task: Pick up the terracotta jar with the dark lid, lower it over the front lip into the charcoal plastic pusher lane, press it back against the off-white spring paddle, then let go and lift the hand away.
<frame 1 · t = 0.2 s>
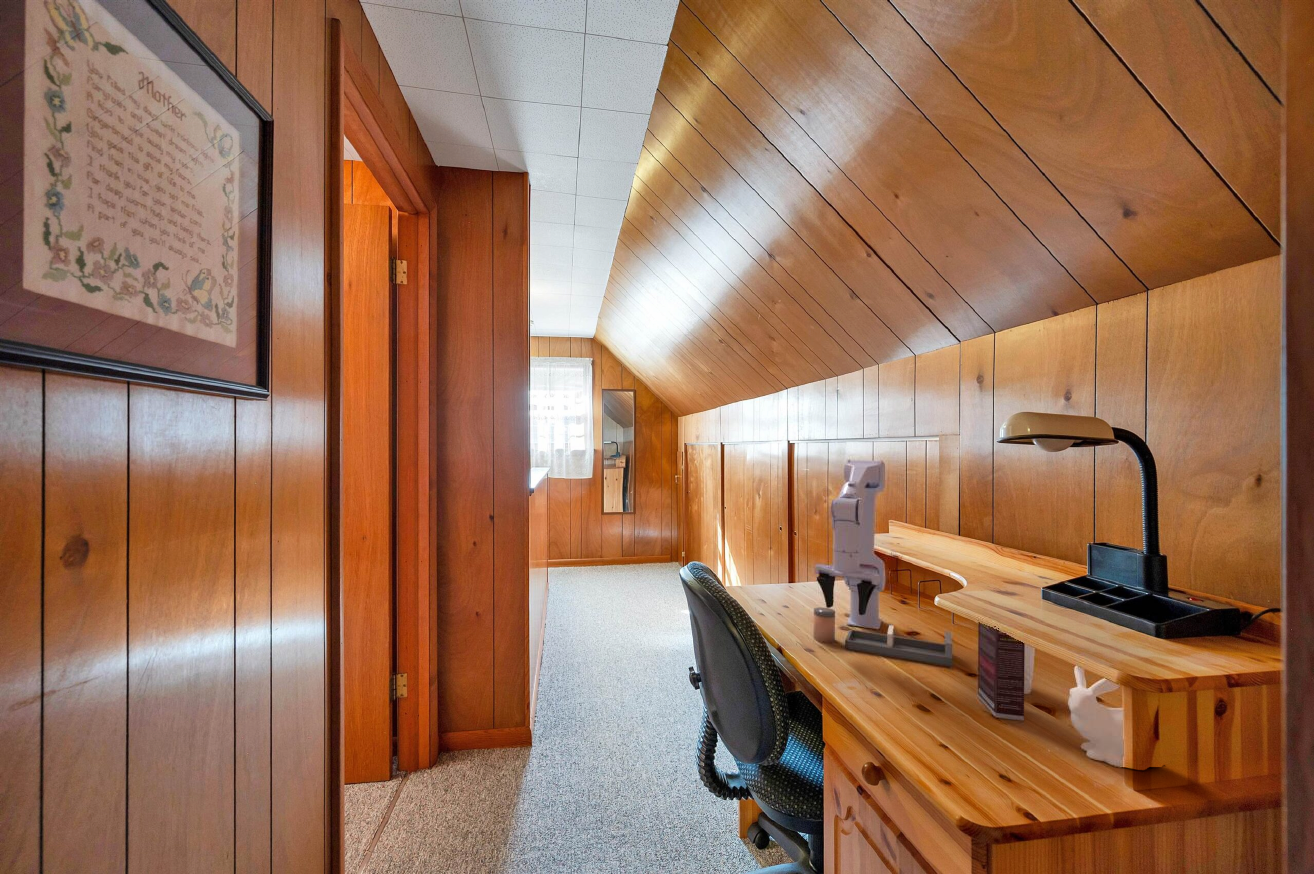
hand: (845, 610, 124), 10 cm above the table, tool pointing down, fingers open, 7 cm apart
jar: (824, 639, 133), on the table
rabbit: (1107, 757, 83), on the table
supplement box: (1000, 709, 98), on the table
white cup: (1010, 688, 107), on the table
spring paddle: (890, 638, 126), point 3 cm above the table, slide at 0.0 cm
pusher lane: (897, 651, 126), on the table
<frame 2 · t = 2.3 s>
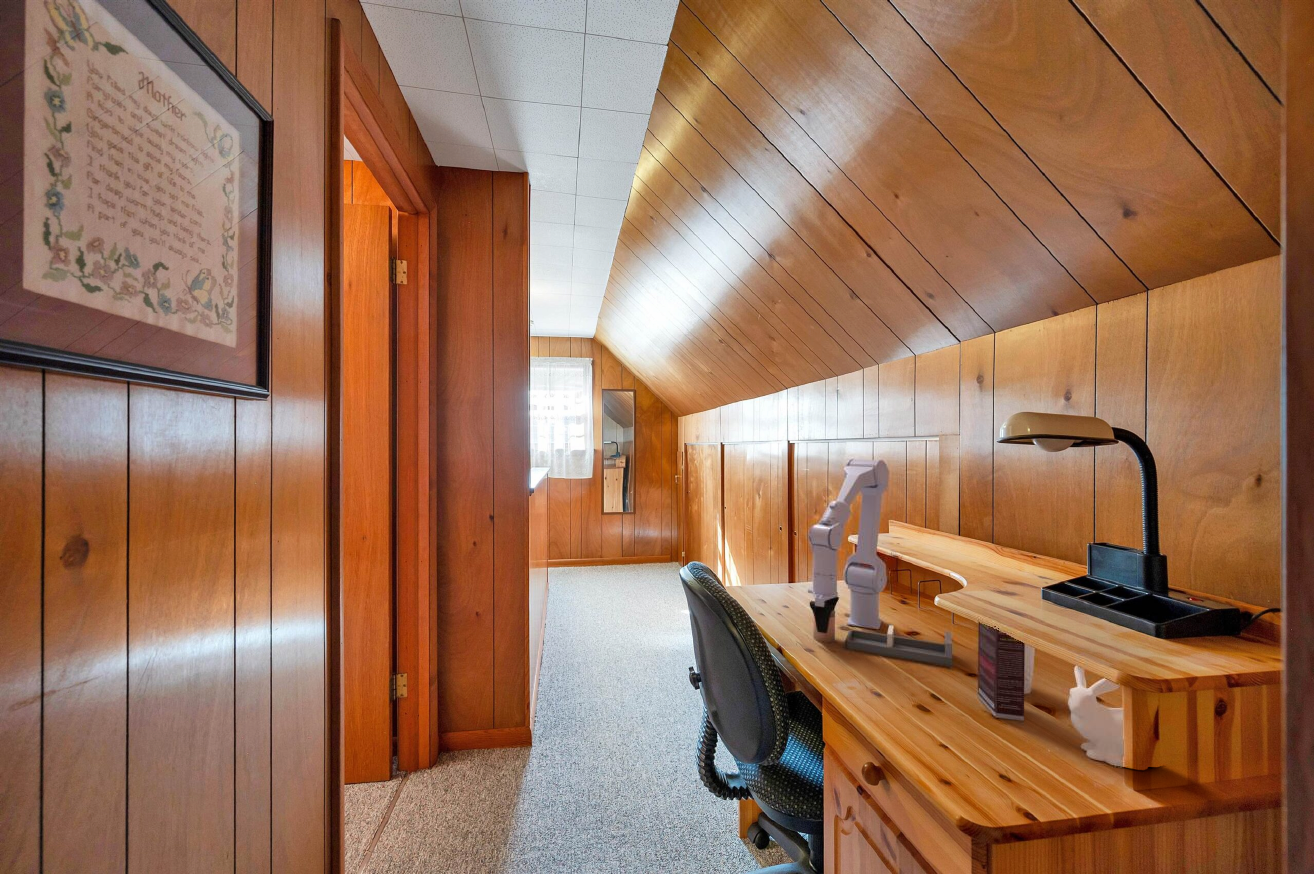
hand: (824, 629, 133), 2 cm above the table, tool pointing down, fingers closed on jar, 5 cm apart
jar: (824, 638, 133), on the table, touching gripper
everything else where it was.
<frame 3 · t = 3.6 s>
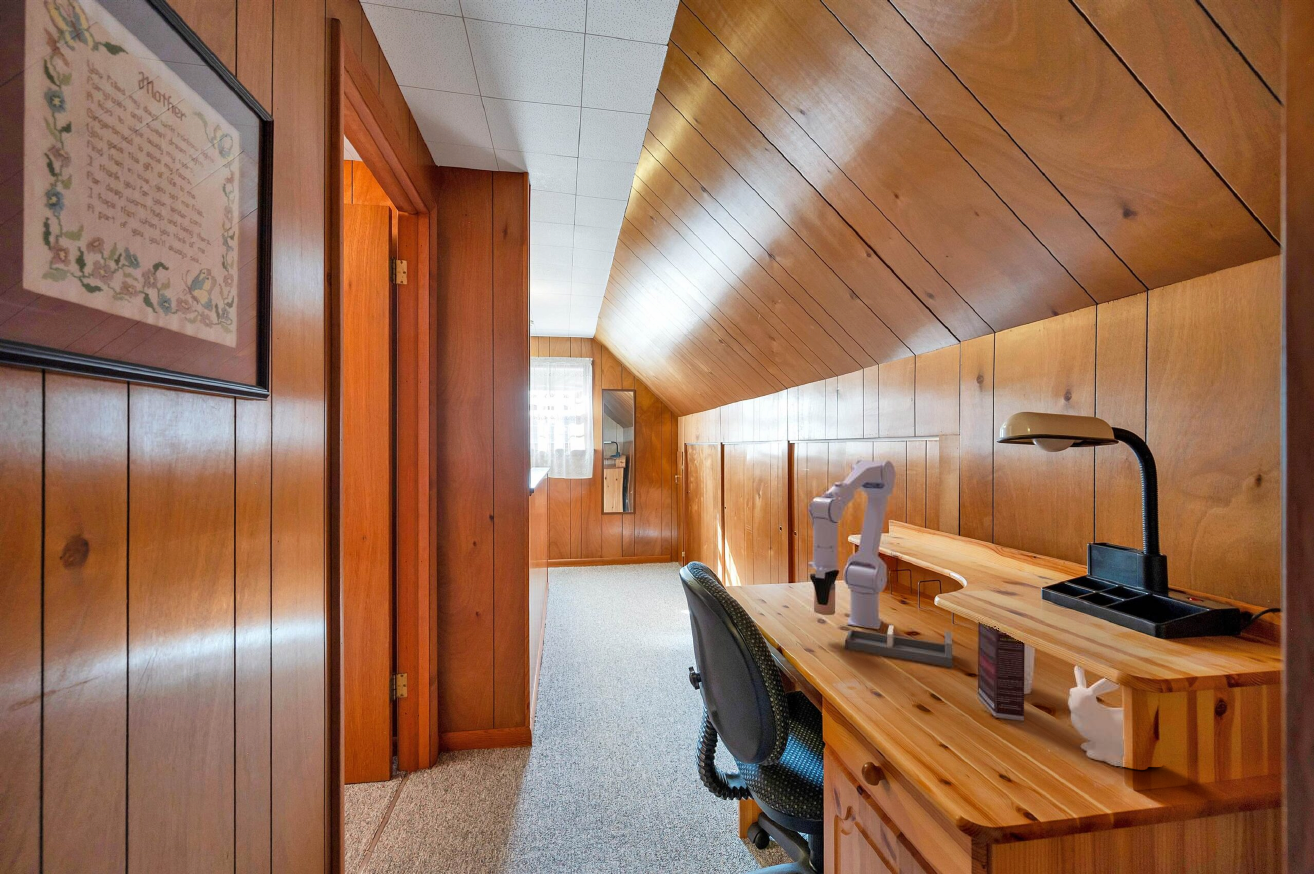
hand: (824, 601, 133), 9 cm above the table, tool pointing down, fingers closed on jar, 5 cm apart
jar: (824, 611, 133), point 7 cm above the table, touching gripper
everything else where it was.
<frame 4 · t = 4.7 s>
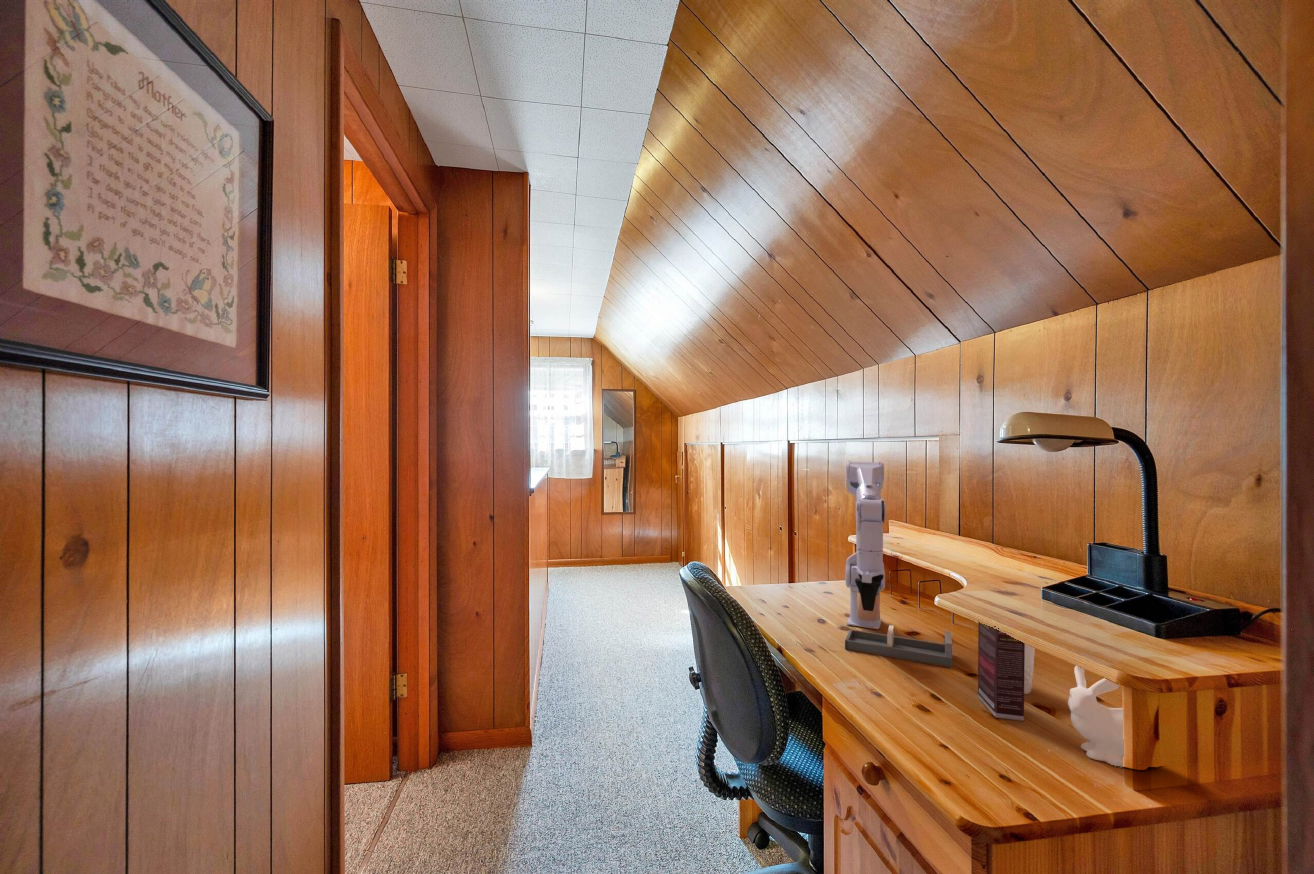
hand: (869, 607, 129), 9 cm above the table, tool pointing down, fingers closed on jar, 5 cm apart
jar: (868, 617, 129), point 7 cm above the table, touching gripper
everything else where it was.
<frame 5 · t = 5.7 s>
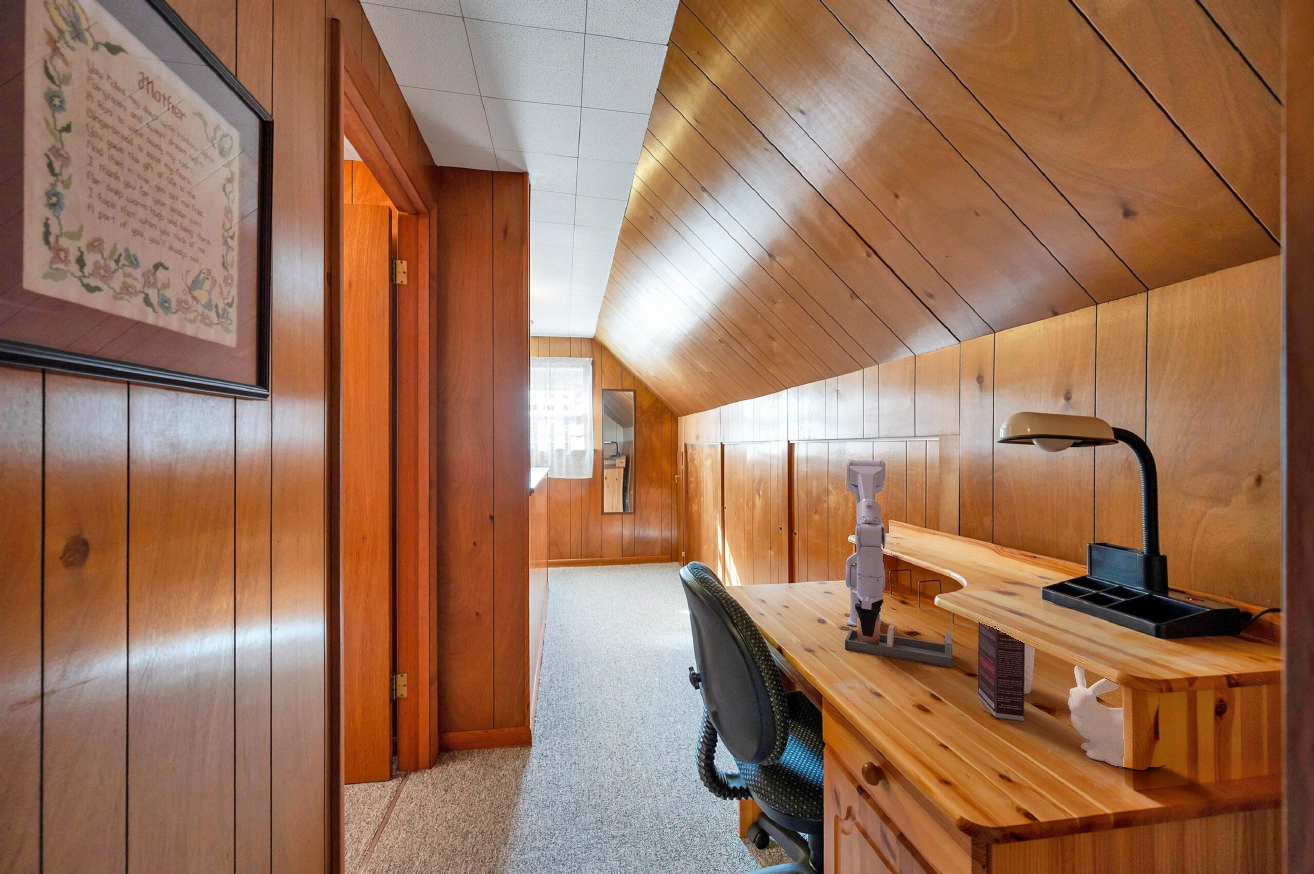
hand: (869, 632, 129), 3 cm above the table, tool pointing down, fingers closed on jar, 5 cm apart
jar: (868, 643, 129), point 1 cm above the table, touching gripper
everything else where it was.
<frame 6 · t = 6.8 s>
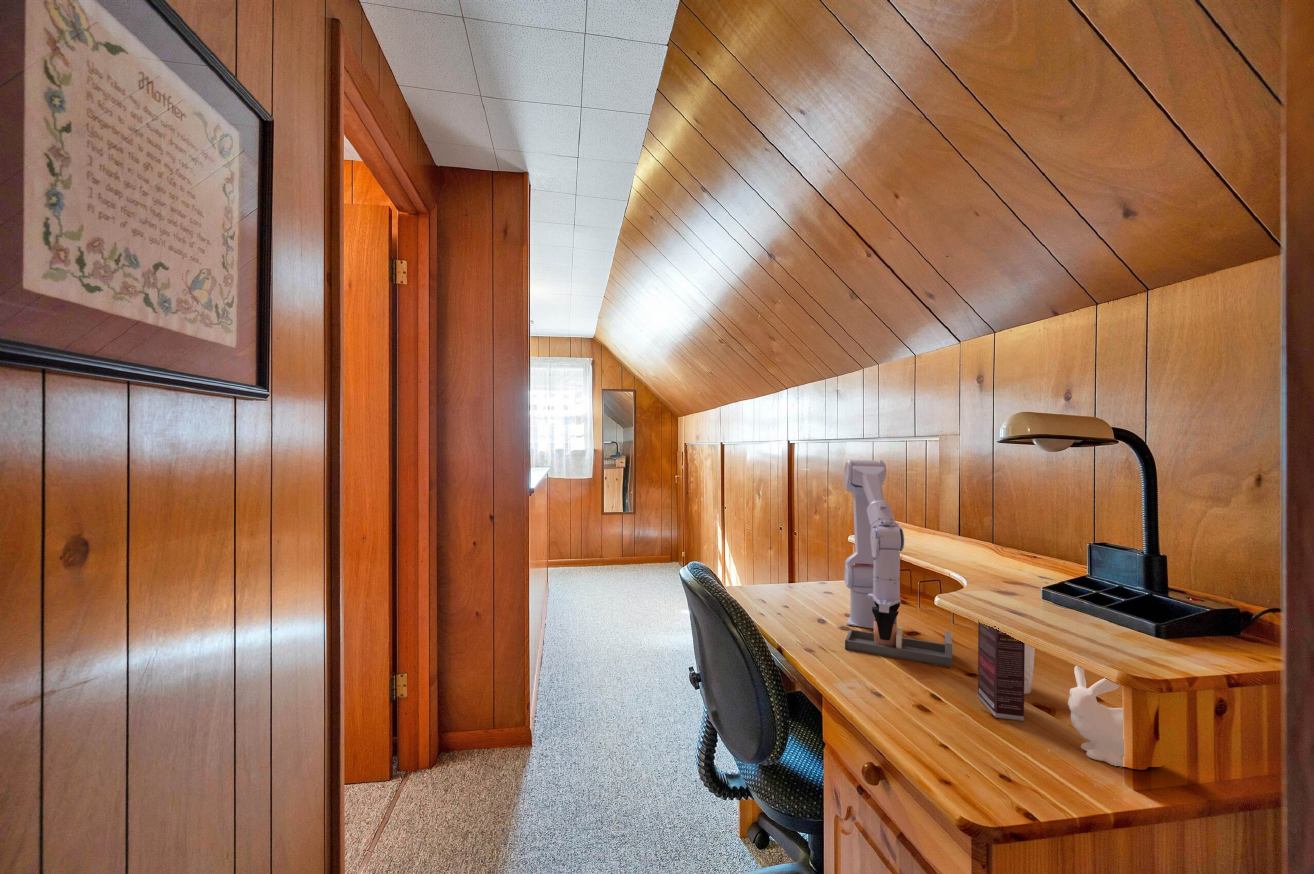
hand: (885, 635, 127), 3 cm above the table, tool pointing down, fingers closed on jar, 5 cm apart
jar: (885, 646, 127), point 1 cm above the table, touching gripper
spring paddle: (899, 639, 126), point 3 cm above the table, slide at 1.9 cm
everything else where it was.
when the fingers open (3 cm above the table, at t = 7.2 s): jar stays where it is, resting on pusher lane.
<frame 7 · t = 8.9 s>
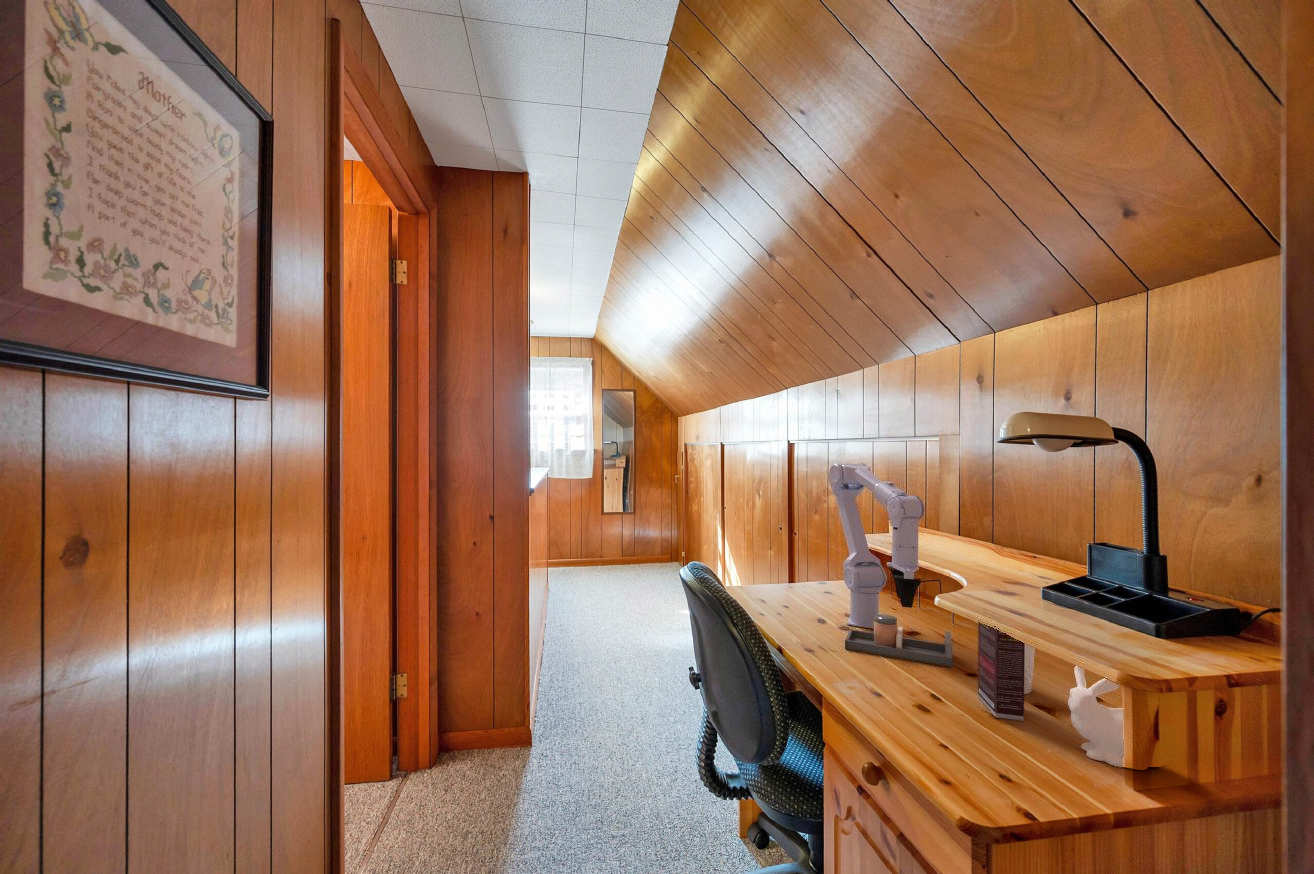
hand: (904, 602, 130), 10 cm above the table, tool pointing down, fingers open, 7 cm apart
jar: (885, 647, 127), resting on pusher lane
everything else where it was.
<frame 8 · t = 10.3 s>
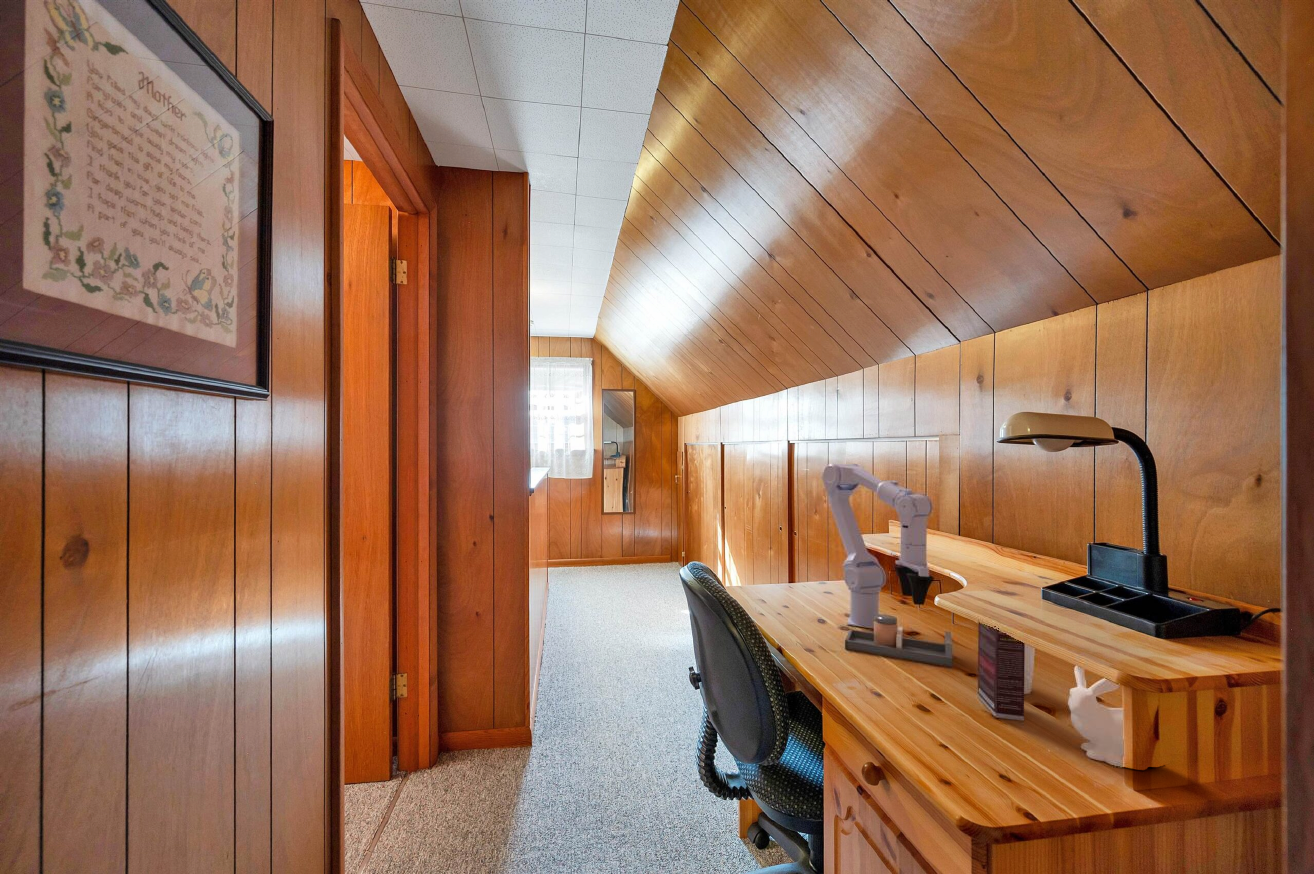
hand: (912, 599, 132), 10 cm above the table, tool pointing down, fingers open, 7 cm apart
nothing on the table moved.
at the end: jar 2.4 cm from the target spot on the pusher lane, point 0.4 cm above the pusher lane's base; jar tilted 0°; the gripper is holding nothing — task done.
